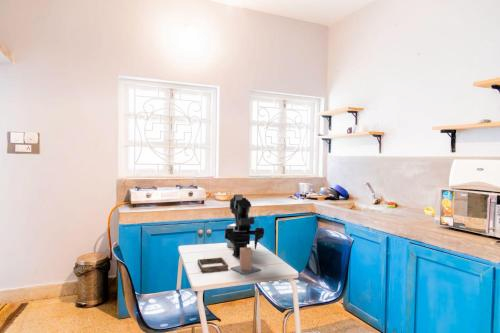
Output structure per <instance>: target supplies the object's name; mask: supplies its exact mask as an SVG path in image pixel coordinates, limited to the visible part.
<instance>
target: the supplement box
mask: <svg viewBox="0 0 500 333" xmlns="http://www.w3.org/2000/svg"><path fill="white" fill-rule="evenodd" d="M235 226H236V224H235V223H232V224H228V225H226V228H233V231H234V229H235ZM226 247H227V248H232V249H234V246H233V244H232V243H231V242H230V240H227V239H226Z"/></svg>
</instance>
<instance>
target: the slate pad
mask: <svg viewBox="0 0 500 333" xmlns="http://www.w3.org/2000/svg"><path fill="white" fill-rule="evenodd" d="M230 270H232V271H234V272H236V273H238V274H240V275H243V276H247V275H250V274H253V273H256V272H260V271H262V269H261V268H260V267H257V266H254V265H253V264H252V270H241V269H240V264H239V265H236V266H232V267H230Z"/></svg>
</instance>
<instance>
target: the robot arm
mask: <svg viewBox="0 0 500 333" xmlns="http://www.w3.org/2000/svg"><path fill="white" fill-rule="evenodd" d="M251 208H252V203H251V201H249V200H248V199H247V197H243V194H234V195H233V197H232V198H231V199H230V201H229V209H230V212H231V214H233V215H234V224H236V226H235V229H234V231H233V228H227V227H226V228H224V239H225V240H226V241H227V240H230V242H231V243H232V244H233V246H234V248H233V253H232V254H231V255H232V256H235V257H237V258H239V259H240V248H246V247H248V245H250V243H251V242H250V241H251V236H254V249H255V250H256V249H257V246H258V242H259V240H261V239H263V238H264V234H265V229H264V227H263V226H262V227H255V230H251V228H252V225H254V224H255V217H254V216H250V217H249V213H250V209H251Z"/></svg>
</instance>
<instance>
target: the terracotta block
mask: <svg viewBox="0 0 500 333" xmlns="http://www.w3.org/2000/svg"><path fill="white" fill-rule="evenodd" d="M239 265H240V269H241V270H252V265H253V249H252V247H250V246H249V247H248V246H247V247H246V248H240V258H239Z"/></svg>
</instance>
